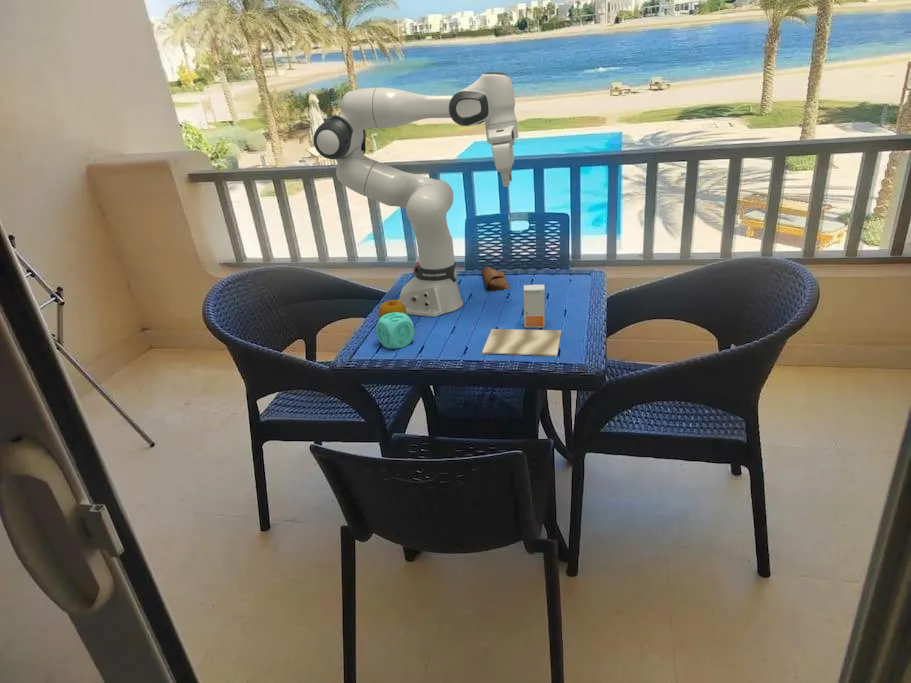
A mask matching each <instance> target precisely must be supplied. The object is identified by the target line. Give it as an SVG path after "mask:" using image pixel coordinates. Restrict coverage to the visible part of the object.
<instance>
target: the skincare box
mask: <svg viewBox="0 0 911 683" xmlns="http://www.w3.org/2000/svg"><path fill="white" fill-rule="evenodd" d="M545 292H546V287H545V284H523V321H524V323H523V325H524V328H525V329H528V328H529V329H531V328H535V329H536V328H537V329H539V328H540V329H542V328H543V329H545V328H546V308H545V306H546V305H545V304H546V301H545V300H546V295H545V294H546V293H545Z"/></svg>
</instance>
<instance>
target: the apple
mask: <svg viewBox="0 0 911 683" xmlns="http://www.w3.org/2000/svg"><path fill="white" fill-rule="evenodd" d="M398 300H399V299H391V300H387V301H384V302H382V303H381V305H380V306H379V308H378V312H377V314H378V320H379V319H380V318H381V317H382V316H383V315H386V314H389V313H394V312H400V313H404V314H406V308H405V306H404V305H403V303H402V302H401V301H398ZM406 315H407V314H406Z"/></svg>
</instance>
